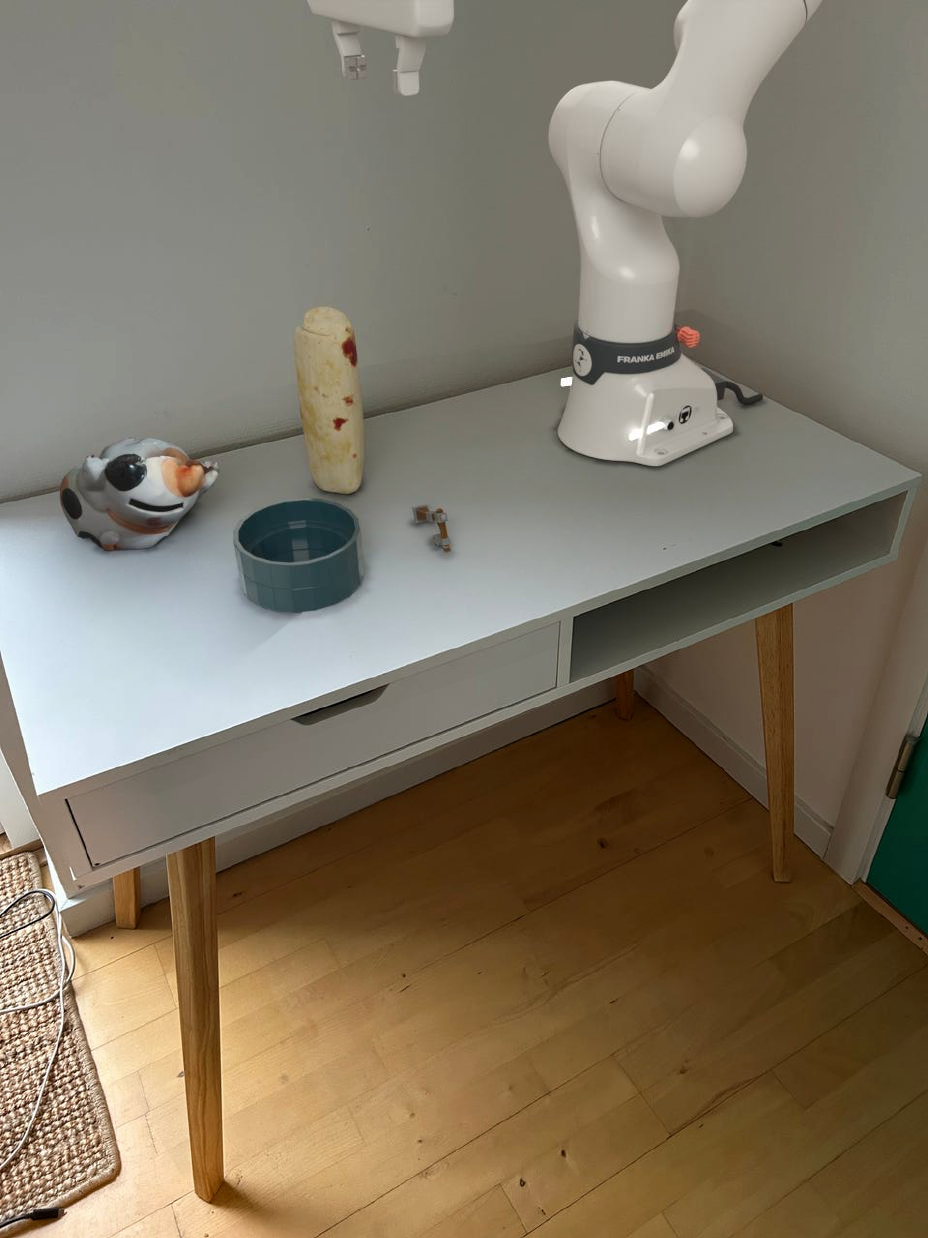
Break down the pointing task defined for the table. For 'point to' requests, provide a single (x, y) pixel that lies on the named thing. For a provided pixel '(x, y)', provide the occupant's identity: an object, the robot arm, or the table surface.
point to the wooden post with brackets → (439, 516)
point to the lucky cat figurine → (133, 492)
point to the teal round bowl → (299, 554)
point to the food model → (330, 399)
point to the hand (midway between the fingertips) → (379, 85)
